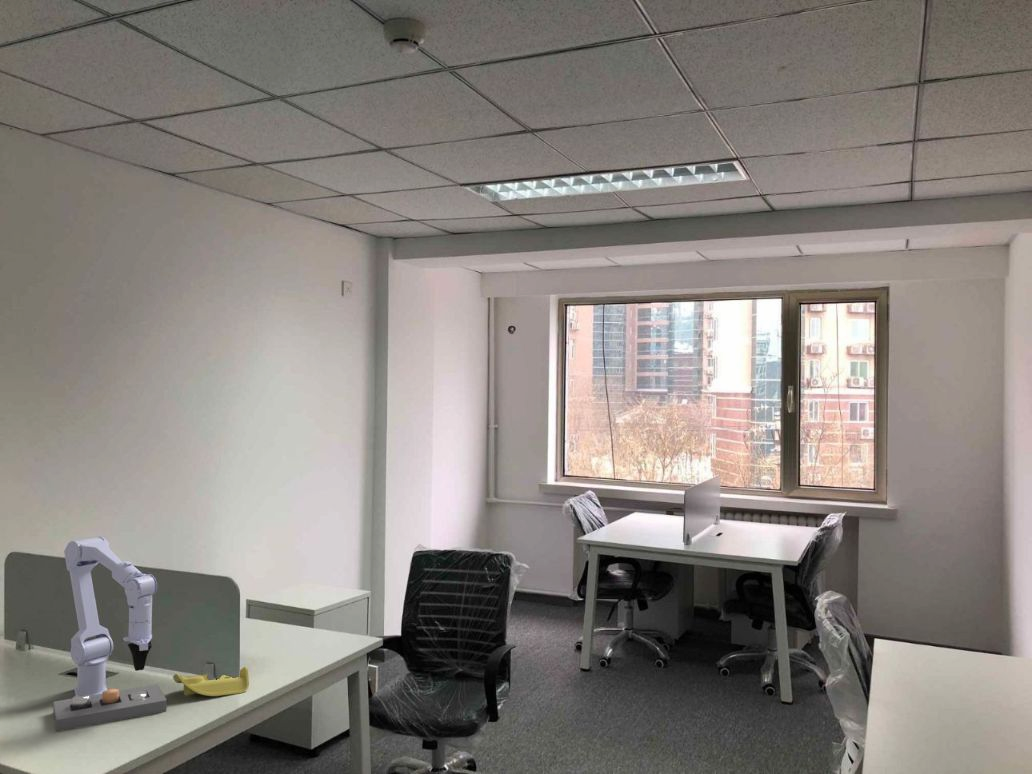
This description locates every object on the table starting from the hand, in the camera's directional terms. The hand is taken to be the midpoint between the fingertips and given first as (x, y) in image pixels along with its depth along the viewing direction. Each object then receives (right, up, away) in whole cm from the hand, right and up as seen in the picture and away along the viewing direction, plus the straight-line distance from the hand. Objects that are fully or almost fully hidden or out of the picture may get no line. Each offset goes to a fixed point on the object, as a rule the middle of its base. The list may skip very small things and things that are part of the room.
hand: (139, 669), depth 220 cm
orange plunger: (-6, -7, -4) cm, 10 cm away
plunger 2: (0, -9, 0) cm, 9 cm away
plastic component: (+15, -11, +13) cm, 22 cm away
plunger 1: (-12, -7, -8) cm, 16 cm away
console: (-6, -10, -4) cm, 12 cm away
